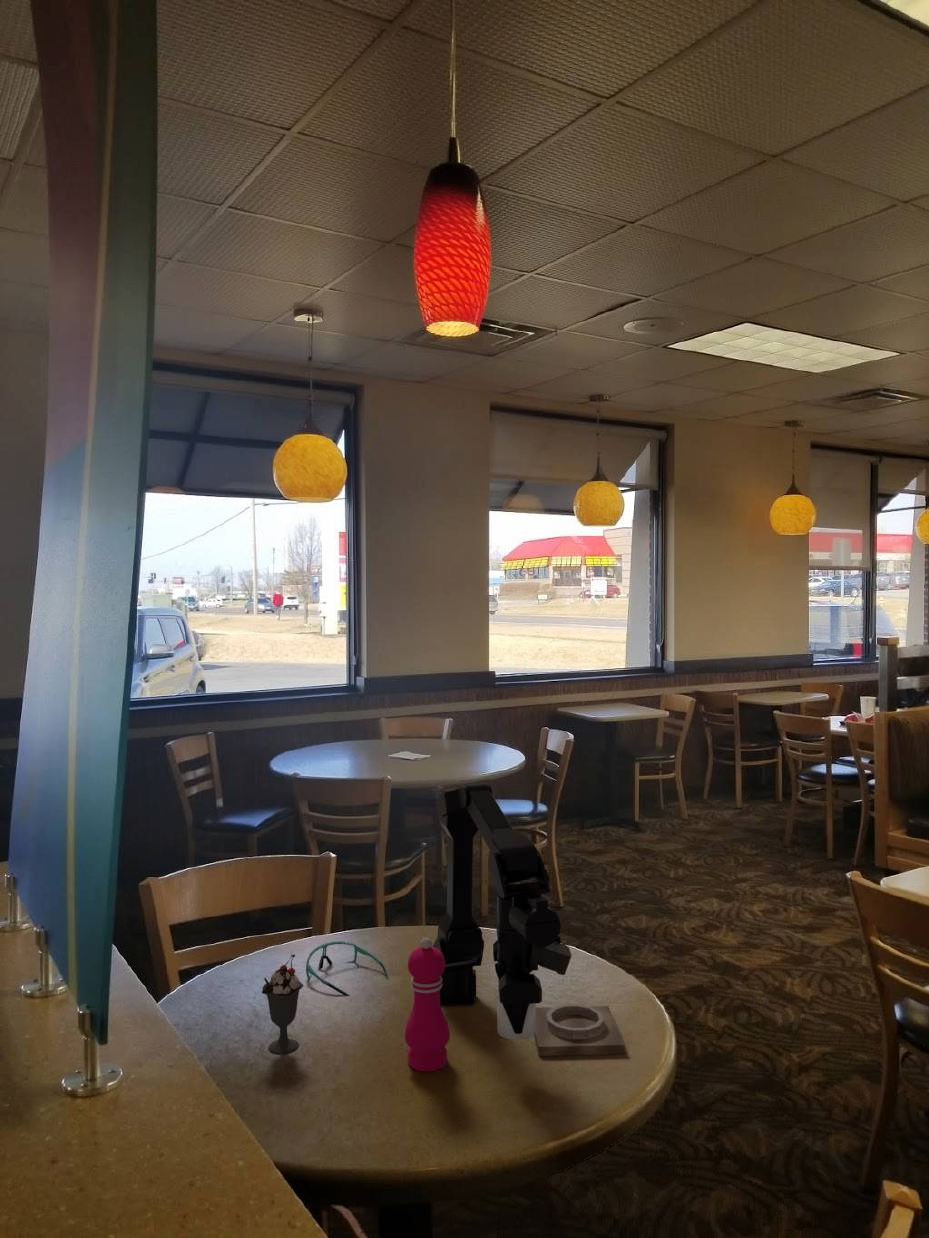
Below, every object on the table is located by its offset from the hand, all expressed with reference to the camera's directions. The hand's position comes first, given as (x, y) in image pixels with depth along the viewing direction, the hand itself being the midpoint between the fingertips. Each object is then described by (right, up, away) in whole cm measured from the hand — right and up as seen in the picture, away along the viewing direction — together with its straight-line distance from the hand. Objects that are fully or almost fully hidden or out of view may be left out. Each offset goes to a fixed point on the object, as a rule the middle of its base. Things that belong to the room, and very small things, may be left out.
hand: (516, 1023), depth 141 cm
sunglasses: (-32, -8, +37) cm, 49 cm away
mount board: (+11, -7, +13) cm, 18 cm away
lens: (0, -1, 0) cm, 1 cm away
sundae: (-38, -8, +9) cm, 40 cm away
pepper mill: (-14, -8, +4) cm, 17 cm away
